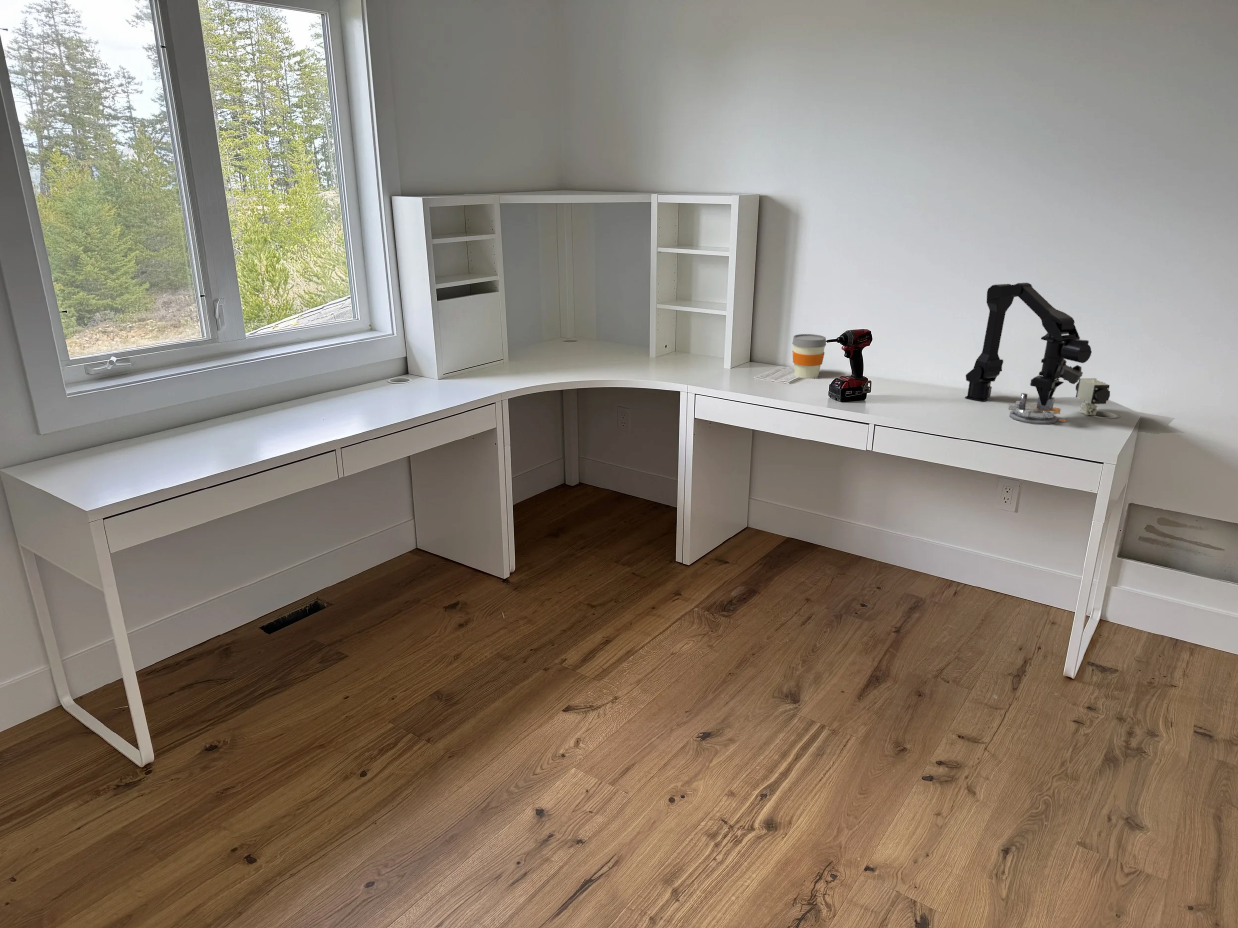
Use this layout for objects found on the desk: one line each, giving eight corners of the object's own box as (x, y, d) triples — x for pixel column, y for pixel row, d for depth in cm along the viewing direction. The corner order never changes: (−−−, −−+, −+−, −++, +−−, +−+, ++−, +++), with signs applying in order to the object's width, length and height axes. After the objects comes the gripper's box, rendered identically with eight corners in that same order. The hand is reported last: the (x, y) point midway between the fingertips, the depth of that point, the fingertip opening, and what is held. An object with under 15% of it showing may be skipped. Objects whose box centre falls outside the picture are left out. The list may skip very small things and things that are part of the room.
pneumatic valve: (1091, 419, 266) (1099, 383, 262) (1070, 409, 277) (1077, 374, 273) (1108, 419, 267) (1115, 382, 262) (1086, 409, 278) (1093, 374, 273)
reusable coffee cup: (783, 375, 320) (786, 336, 315) (803, 370, 328) (806, 332, 323) (809, 381, 311) (813, 341, 306) (829, 376, 319) (833, 337, 314)
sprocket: (1028, 422, 258) (1032, 400, 256) (998, 409, 272) (1002, 388, 270) (1068, 419, 261) (1073, 398, 258) (1037, 407, 275) (1041, 386, 272)
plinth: (1003, 418, 267) (1003, 415, 266) (1017, 409, 276) (1018, 407, 276) (1056, 428, 256) (1056, 425, 256) (1069, 419, 266) (1070, 416, 266)
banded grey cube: (1036, 407, 265) (1038, 397, 264) (1039, 405, 267) (1041, 395, 266) (1049, 410, 262) (1051, 399, 261) (1052, 408, 264) (1054, 397, 263)
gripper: (1073, 365, 247) (1063, 415, 253) (1090, 355, 260) (1081, 403, 266) (1034, 359, 254) (1025, 408, 260) (1053, 350, 267) (1044, 397, 273)
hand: (1045, 404), depth 264 cm, fingers closed on banded grey cube, 3 cm apart
